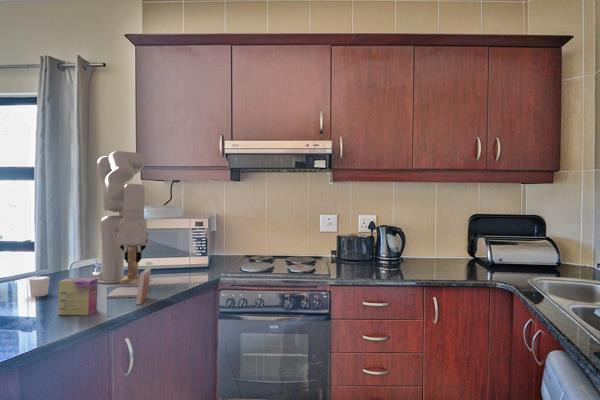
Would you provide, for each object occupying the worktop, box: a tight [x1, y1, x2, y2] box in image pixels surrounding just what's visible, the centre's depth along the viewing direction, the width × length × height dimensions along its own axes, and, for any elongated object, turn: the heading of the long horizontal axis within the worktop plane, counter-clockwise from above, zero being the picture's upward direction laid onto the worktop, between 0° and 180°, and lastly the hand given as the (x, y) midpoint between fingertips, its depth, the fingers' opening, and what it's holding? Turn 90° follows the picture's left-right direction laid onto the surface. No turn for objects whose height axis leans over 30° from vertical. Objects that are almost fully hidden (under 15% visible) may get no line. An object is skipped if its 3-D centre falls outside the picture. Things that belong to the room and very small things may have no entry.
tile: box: [135, 267, 152, 305], centre depth 140 cm, size 2×10×12 cm, turn 10°
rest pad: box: [106, 286, 150, 299], centre depth 150 cm, size 13×13×1 cm
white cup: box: [28, 275, 51, 298], centre depth 145 cm, size 7×7×7 cm
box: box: [57, 277, 99, 316], centre depth 124 cm, size 10×6×12 cm, turn 92°
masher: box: [119, 245, 140, 285], centre depth 139 cm, size 7×7×14 cm
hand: (133, 261), depth 139 cm, fingers closed on masher, 3 cm apart
